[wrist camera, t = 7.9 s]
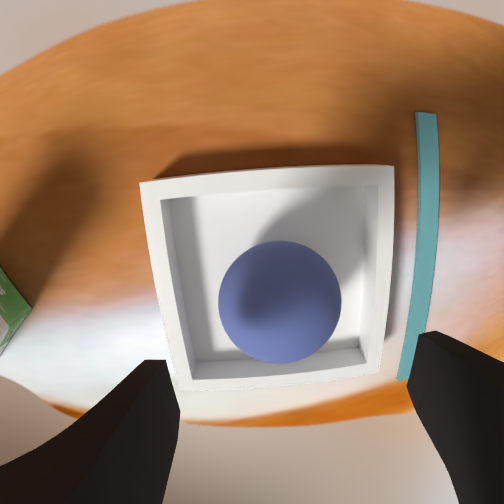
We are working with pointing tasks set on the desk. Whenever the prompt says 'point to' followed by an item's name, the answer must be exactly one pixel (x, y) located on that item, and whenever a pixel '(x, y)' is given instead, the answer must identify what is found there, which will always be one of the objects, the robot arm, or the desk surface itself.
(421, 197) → the teal line
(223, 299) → the ball
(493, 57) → the desk surface
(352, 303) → the tray
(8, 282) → the ink box
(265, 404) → the desk surface
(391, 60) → the desk surface
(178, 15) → the desk surface
